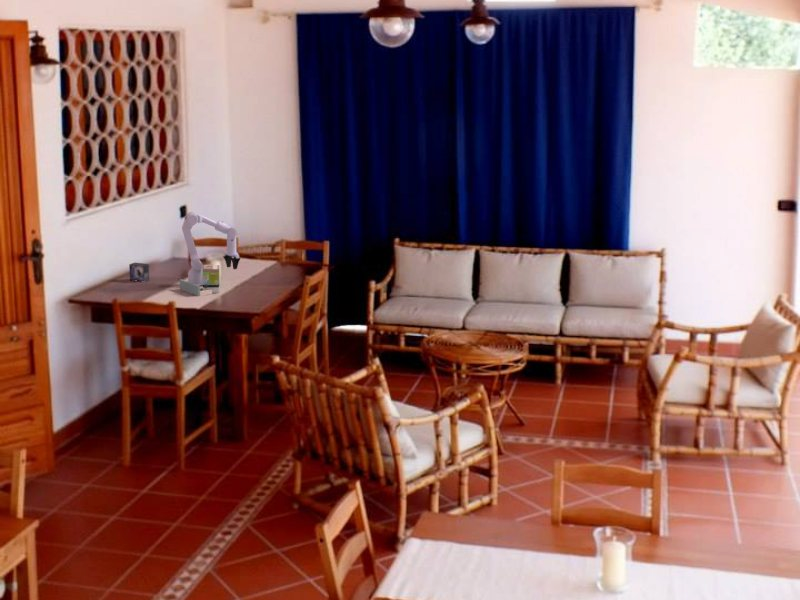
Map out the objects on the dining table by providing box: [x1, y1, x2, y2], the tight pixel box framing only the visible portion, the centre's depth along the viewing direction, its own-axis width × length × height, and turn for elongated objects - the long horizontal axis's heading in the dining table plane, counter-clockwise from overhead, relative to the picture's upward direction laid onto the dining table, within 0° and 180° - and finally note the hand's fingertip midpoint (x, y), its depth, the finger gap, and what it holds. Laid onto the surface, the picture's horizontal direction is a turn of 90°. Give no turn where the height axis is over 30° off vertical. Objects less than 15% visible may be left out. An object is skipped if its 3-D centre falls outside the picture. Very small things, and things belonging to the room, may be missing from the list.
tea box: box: [202, 264, 221, 294], centre depth 693 cm, size 15×10×15 cm
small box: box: [128, 262, 150, 282], centre depth 720 cm, size 11×6×10 cm, turn 68°
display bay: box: [179, 278, 213, 297], centre depth 691 cm, size 22×9×6 cm, turn 38°
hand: (231, 268), depth 715 cm, fingers open, 7 cm apart
